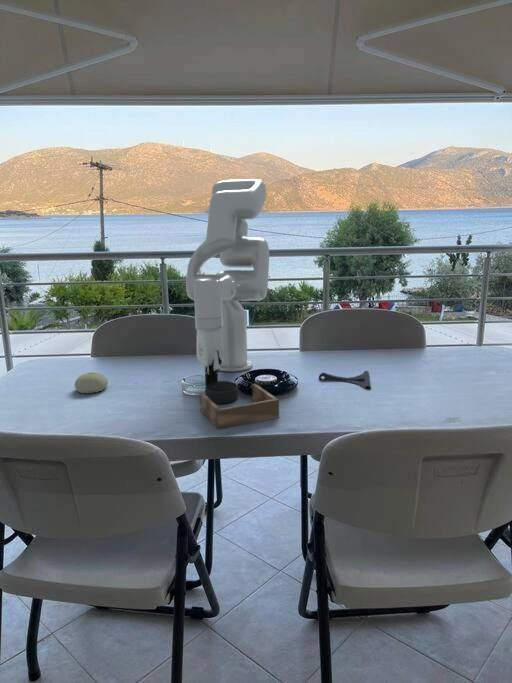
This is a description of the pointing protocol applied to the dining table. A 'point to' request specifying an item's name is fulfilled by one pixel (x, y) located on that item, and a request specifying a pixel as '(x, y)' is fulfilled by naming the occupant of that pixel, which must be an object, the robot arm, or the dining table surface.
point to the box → (241, 409)
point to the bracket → (350, 379)
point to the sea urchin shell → (91, 382)
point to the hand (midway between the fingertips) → (211, 386)
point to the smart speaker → (222, 392)
